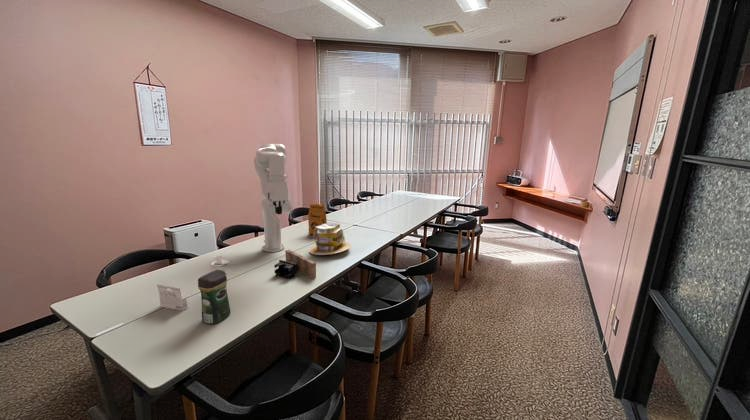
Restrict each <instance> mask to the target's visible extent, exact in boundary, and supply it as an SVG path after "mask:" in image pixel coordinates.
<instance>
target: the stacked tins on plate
mask: <svg viewBox="0 0 750 420" xmlns="http://www.w3.org/2000/svg"><path fill="white" fill-rule="evenodd" d="M314 231H315V232H314V233H313V234H312V236H313V238H315V239H316V240H315V246H313V247H312V248H310V249H309V253H310V254H311V255H315V256H316V255H318V256H324V255H325V256H327V255H333V254H337V253H342V252H344V251H345V252H346V250H348V249H350V248H351V246H352V245H351V243H349V242H346V238H345V235H344V230H343V229H342V228H341V223H339V222H337V223H335V222H331V223H330V222H327V223H325V224H322V225H320V226H316V227H315V228H314Z"/></svg>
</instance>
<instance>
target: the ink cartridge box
mask: <svg viewBox="0 0 750 420" xmlns="http://www.w3.org/2000/svg"><path fill="white" fill-rule="evenodd" d="M156 285H157V291H158V297H159V305H160V307H162V308H167V309H173V310H177V311H185V310H187V309H188V301H187V296H184V295H182V291H181V288H177V287H174V286H165V285H159V284H156ZM168 289H169V290H168Z"/></svg>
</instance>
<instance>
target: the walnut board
mask: <svg viewBox="0 0 750 420" xmlns="http://www.w3.org/2000/svg"><path fill="white" fill-rule="evenodd" d="M285 261H287V262H292V263H296V264H298V266H299V270H298V273H301V274H303V275H305V276H307V277H308V278H310V279H312V280H314V279H316V278H317V262H315V261H313V260H311V259H309V258H307V257H305V256H303V255H301V254H298V252H295V251H293V250H291V249H285Z"/></svg>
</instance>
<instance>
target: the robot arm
mask: <svg viewBox="0 0 750 420" xmlns="http://www.w3.org/2000/svg"><path fill="white" fill-rule="evenodd" d="M286 160H287V149H286V146H285V145H283V144H282V143H264V144H262V145H261V146H260V148H259V149H257V150H256V152H255V156H254V158H253V165H254V169H255V171H256V173H257V175H258V178H259V180H260V187H261V193H262V196H263V197H264V199H263V200H261V203H260V204H261V206H260V207H261V211H262V215H263V217H262V218H263V230H264V231H263V232H264V239H263V243H264V245H263V246H262V251H264V252H266V253H277V252H280V251H282V250H284V249H285V245H284V244H283V243H282V229H281V227H282V226H281V224H282V223H281V219H280V218H279V216H277V215H282V214H287V213H291V212H292V210H293V202H292V195H291V190H290V186H289V184H288V182H287V180H286V179H287V178H288V175H286V165H285V164H286V163H287V162H286Z"/></svg>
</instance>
